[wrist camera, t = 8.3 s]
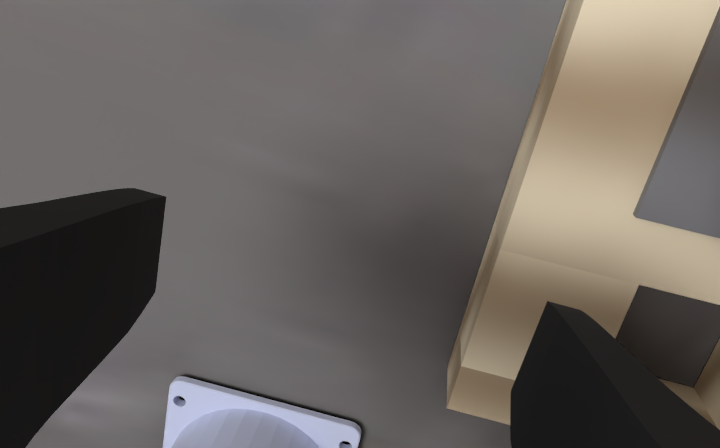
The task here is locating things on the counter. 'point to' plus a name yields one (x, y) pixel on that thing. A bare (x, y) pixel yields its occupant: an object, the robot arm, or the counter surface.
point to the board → (604, 192)
